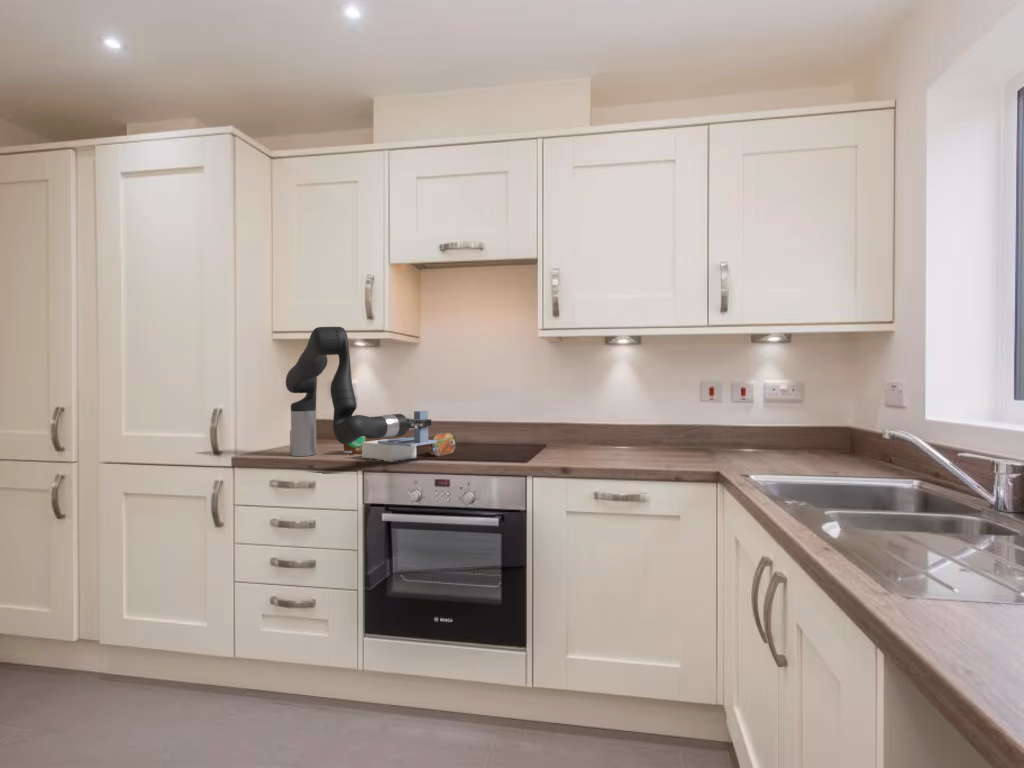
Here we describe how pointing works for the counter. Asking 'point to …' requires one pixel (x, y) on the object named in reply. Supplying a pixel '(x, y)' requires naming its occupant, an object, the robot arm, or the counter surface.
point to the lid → (419, 434)
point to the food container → (354, 446)
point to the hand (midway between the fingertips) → (426, 422)
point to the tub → (387, 451)
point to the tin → (442, 444)
